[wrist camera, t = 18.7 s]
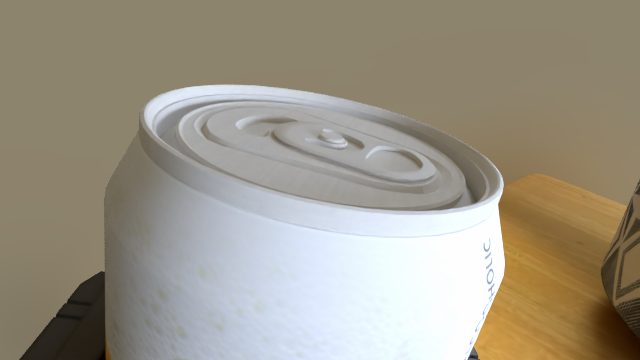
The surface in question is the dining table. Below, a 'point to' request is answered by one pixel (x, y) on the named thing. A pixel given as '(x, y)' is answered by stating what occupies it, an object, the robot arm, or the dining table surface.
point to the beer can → (296, 232)
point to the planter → (625, 266)
